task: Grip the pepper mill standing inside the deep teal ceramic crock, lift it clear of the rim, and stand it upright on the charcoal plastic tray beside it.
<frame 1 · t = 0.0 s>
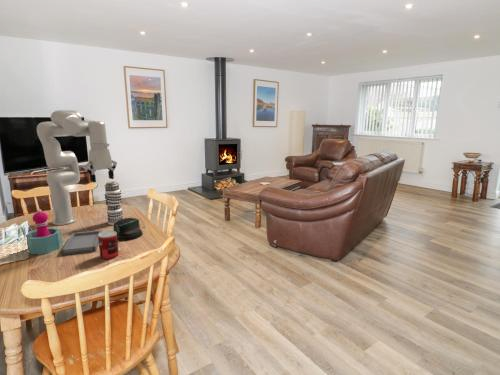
hand: (102, 180, 155), 31 cm above the table, tool pointing down, fingers open, 9 cm apart
tray: (84, 244, 154), on the table
gray white banded cylinder: (115, 222, 185), on the table
crock: (45, 248, 149), on the table
pepper mill: (45, 248, 149), resting in crock
canned food: (109, 256, 141), on the table
black hat: (127, 236, 166), on the table
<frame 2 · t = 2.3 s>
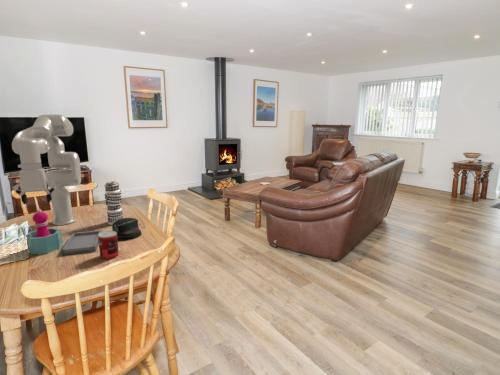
hand: (37, 202, 143), 23 cm above the table, tool pointing down, fingers open, 9 cm apart
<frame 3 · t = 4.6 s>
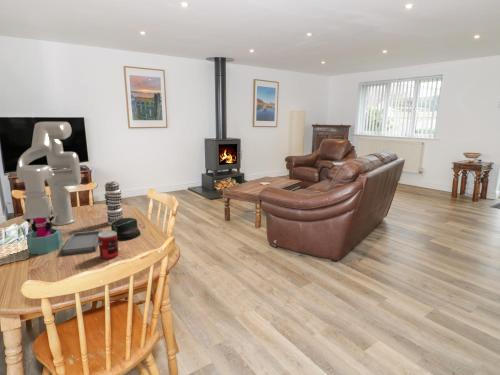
hand: (42, 230, 147), 9 cm above the table, tool pointing down, fingers closed on pepper mill, 5 cm apart
pepper mill: (45, 248, 149), resting in crock, touching gripper
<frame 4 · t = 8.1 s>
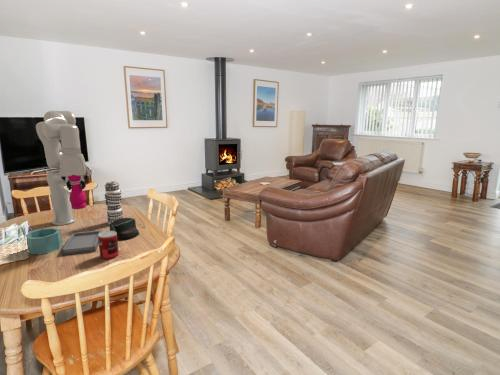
hand: (76, 188, 147), 29 cm above the table, tool pointing down, fingers closed on pepper mill, 5 cm apart
pepper mill: (79, 207, 150), point 19 cm above the table, touching gripper
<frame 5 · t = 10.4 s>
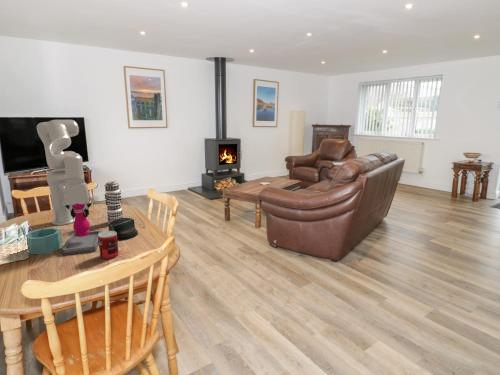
hand: (80, 216, 151), 15 cm above the table, tool pointing down, fingers closed on pepper mill, 5 cm apart
pepper mill: (82, 234, 153), point 5 cm above the table, touching gripper
when the fingers open (12 cm above the table, at t = 12.0 s): pepper mill stays where it is, resting on tray.
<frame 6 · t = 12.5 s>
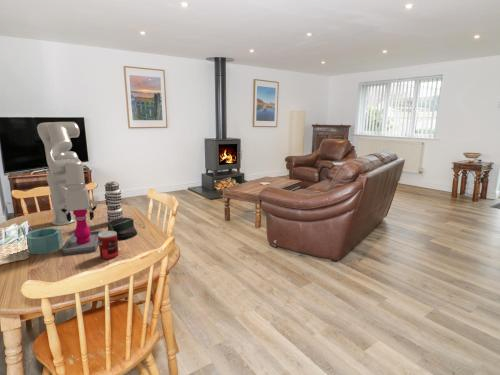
hand: (80, 220, 151), 13 cm above the table, tool pointing down, fingers open, 9 cm apart
pepper mill: (83, 242, 154), point 1 cm above the table, touching tray
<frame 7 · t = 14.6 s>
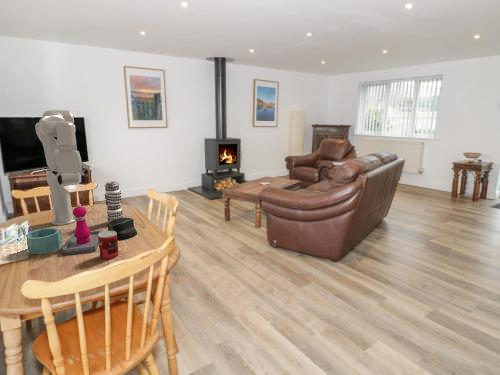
hand: (72, 183, 149), 31 cm above the table, tool pointing down, fingers open, 9 cm apart
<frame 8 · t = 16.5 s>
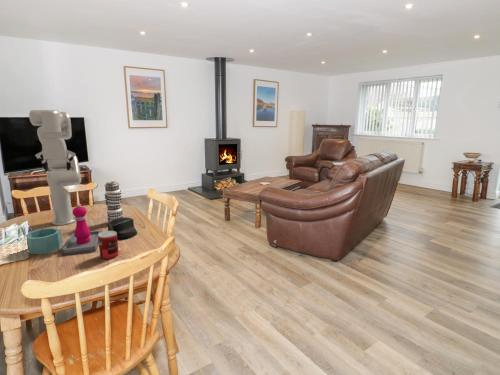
hand: (58, 170, 154), 36 cm above the table, tool pointing down, fingers open, 9 cm apart
at the end: pepper mill inside the target area on the tray (0.2 cm from its centre), point 1.0 cm above the tray's base; pepper mill tilted 0°; the gripper is holding nothing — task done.
